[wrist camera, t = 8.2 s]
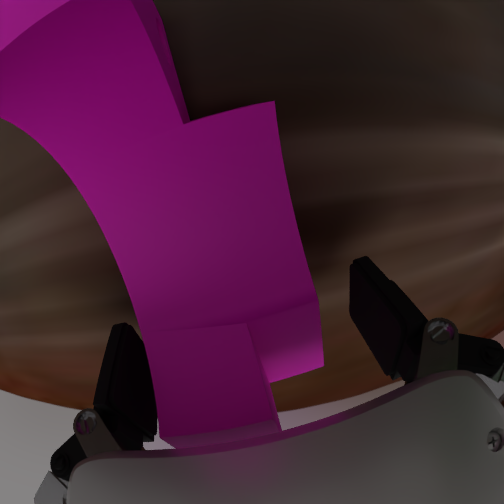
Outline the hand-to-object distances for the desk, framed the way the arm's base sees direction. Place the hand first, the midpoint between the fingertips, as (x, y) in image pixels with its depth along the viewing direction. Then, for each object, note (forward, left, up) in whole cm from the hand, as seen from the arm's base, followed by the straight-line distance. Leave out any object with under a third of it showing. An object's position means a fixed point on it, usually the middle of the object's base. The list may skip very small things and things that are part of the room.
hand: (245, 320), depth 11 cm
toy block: (+1, -5, -3) cm, 6 cm away
